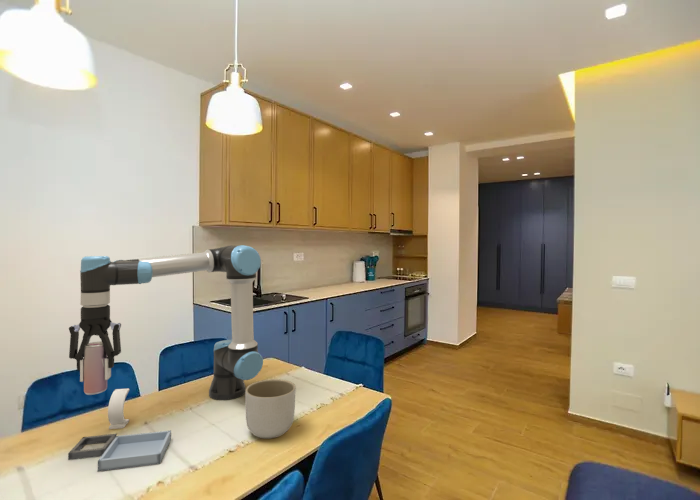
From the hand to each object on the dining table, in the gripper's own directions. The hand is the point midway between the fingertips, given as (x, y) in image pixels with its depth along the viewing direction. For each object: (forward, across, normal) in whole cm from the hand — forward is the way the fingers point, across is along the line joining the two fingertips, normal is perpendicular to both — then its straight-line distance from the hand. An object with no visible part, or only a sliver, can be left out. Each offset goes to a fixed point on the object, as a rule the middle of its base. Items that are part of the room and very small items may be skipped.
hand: (95, 378), depth 113 cm
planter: (+23, -53, +1) cm, 58 cm away
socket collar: (+22, +1, 0) cm, 22 cm away
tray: (+22, -13, +6) cm, 27 cm away
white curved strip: (+22, -1, -15) cm, 27 cm away
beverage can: (+4, 0, 0) cm, 4 cm away
